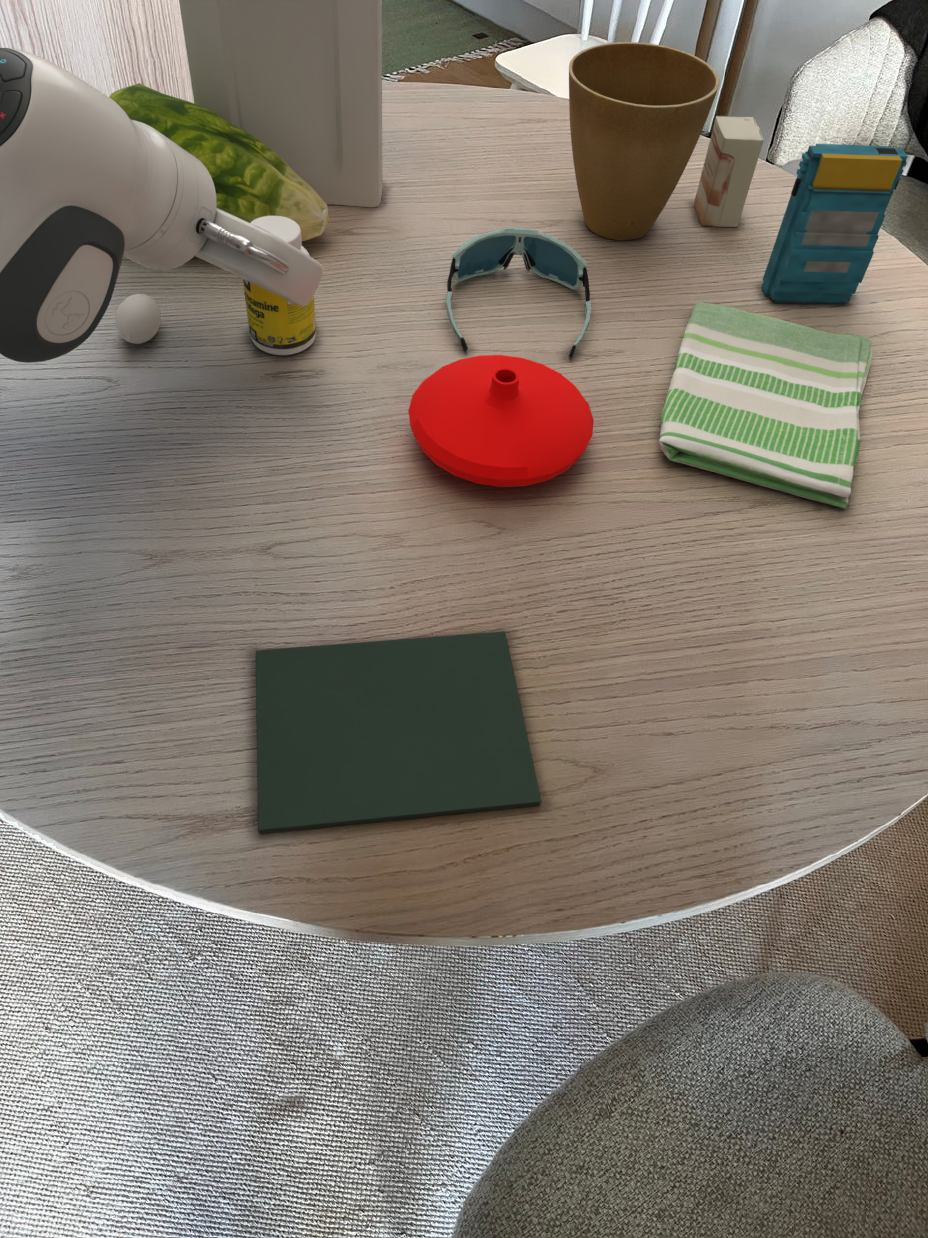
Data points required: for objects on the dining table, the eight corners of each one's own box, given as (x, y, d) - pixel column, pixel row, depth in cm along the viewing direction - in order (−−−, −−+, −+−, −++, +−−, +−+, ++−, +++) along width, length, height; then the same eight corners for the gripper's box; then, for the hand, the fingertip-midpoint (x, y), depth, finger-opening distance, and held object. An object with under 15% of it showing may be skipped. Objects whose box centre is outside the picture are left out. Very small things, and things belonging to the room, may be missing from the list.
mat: (259, 834, 61) (258, 830, 61) (256, 654, 70) (255, 650, 70) (540, 805, 64) (541, 801, 63) (504, 635, 72) (505, 631, 72)
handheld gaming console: (845, 285, 104) (903, 144, 92) (857, 308, 102) (918, 166, 90) (756, 283, 103) (803, 141, 92) (765, 306, 101) (815, 163, 89)
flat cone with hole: (465, 363, 92) (470, 297, 87) (617, 426, 88) (633, 361, 82) (372, 458, 83) (371, 391, 78) (536, 533, 79) (547, 468, 73)
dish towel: (868, 356, 97) (879, 333, 94) (851, 516, 82) (863, 492, 80) (690, 314, 99) (697, 290, 97) (644, 461, 85) (650, 437, 83)
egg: (171, 319, 94) (163, 283, 91) (154, 357, 90) (146, 321, 87) (131, 315, 94) (122, 279, 91) (112, 354, 90) (103, 317, 87)
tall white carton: (390, 143, 118) (391, -144, 96) (379, 207, 108) (377, -94, 86) (230, 130, 117) (194, -161, 95) (205, 194, 108) (159, -113, 86)
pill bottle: (236, 336, 93) (221, 227, 84) (287, 310, 96) (276, 202, 87) (280, 366, 90) (268, 257, 81) (330, 339, 93) (324, 230, 85)
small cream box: (692, 203, 113) (714, 113, 105) (729, 204, 113) (755, 115, 105) (700, 227, 110) (724, 136, 102) (738, 228, 110) (765, 138, 102)
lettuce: (307, 315, 102) (322, 211, 91) (79, 248, 99) (66, 132, 88) (334, 227, 110) (352, 120, 98) (122, 162, 106) (116, 44, 95)
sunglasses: (583, 271, 103) (591, 230, 98) (588, 375, 95) (597, 336, 91) (448, 262, 102) (450, 220, 98) (442, 366, 95) (444, 326, 90)
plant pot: (670, 191, 114) (704, 43, 102) (692, 262, 105) (733, 109, 93) (543, 185, 114) (562, 35, 101) (554, 256, 104) (577, 101, 92)
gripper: (279, 210, 68) (369, 273, 81) (72, 118, 74) (186, 190, 87) (243, 295, 69) (337, 344, 82) (42, 197, 76) (159, 257, 88)
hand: (258, 264), depth 85 cm, fingers open, 8 cm apart
